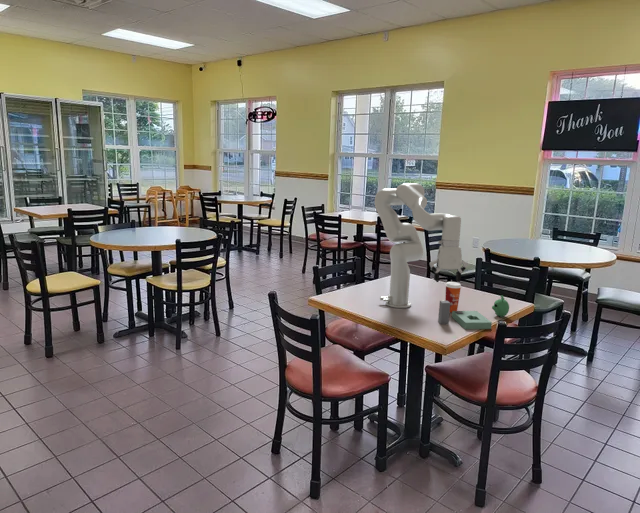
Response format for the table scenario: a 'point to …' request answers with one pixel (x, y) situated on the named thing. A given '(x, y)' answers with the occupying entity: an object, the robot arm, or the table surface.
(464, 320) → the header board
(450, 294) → the paper cup
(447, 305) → the keyed plug
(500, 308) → the alien toy
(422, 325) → the table surface
